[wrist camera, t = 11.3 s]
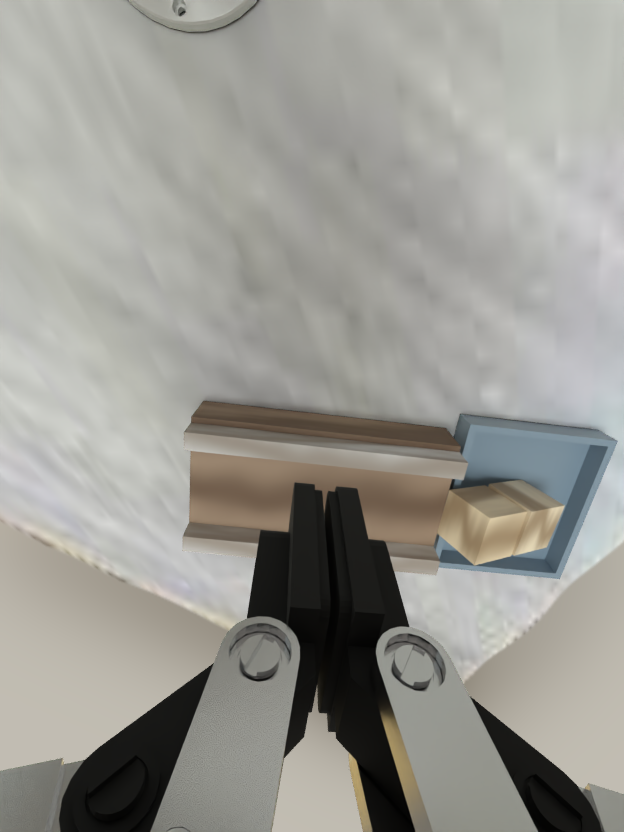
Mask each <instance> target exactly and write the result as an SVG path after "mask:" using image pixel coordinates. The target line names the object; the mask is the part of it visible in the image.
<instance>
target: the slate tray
mask: <svg viewBox="0 0 624 832" xmlns="http://www.w3.org/2000/svg"><path fill="white" fill-rule="evenodd" d="M454 439H455V440H456V441H457V442H458V444H459V445H460V446H461V448H460V453H461V455H462V456H463V457H464V458H465V460H466V461H467V462H468V466H467V470H466V473H465V477H464V480H459V479H452V481H451V485H450V488H449V490H452V489H460V488H467V487H475V486H482V485H486V486H487V487H488V486H489V484H492V483H499V482H507V481H515V480H523V481H525V482H526V483H528V484H530V485H531V486H533V487H535V488H536V489H538V490H540V491H541V492H543V493H545V494H546V495H548V496H550V497H551V498H553V499H555V500H556V501H558V502H560V503H561V504H563V505H565V507H564V509H563V511H562V514H561V516H560V518H559V521H558V523H557V525H556V527H555V530H554V532H553V534H552V536H551V539H550V541H549V543H548V546H547V547H546V548H542V549H538V550H534V551H531V552H527V553H523V554H519V555H515V556H514V555H511V556H510V557H506V558H502V559H498V560H494V561H490V562H486V563H482V564H478V565H473V564H472V563H471V562H470V561H469V560H468V559H466V558H465V557H464V556H463V555H462V554H461V553H460V552H458V551H457V550H456V549H455V548H454V547H453V546H451V545H450V544H449V543H448V542H447V541H446V540H444V539H443V538H442V537H441V536H440V535H439V534H437V535H436V539H435V543H434V548H435V551H436V553H437V555H438V557H439V560H440V564H439V567H440V568H451V569H461V570H471V571H482V572H492V573H503V574H513V575H524V576H534V577H545V578H555V579H560V577H561V574H562V572H563V570H564V567H565V565H566V563H567V560H568V558H569V555H570V553H571V551H572V548H573V546H574V544H575V541H576V539H577V537H578V534H579V532H580V529H581V527H582V525H583V522H584V520H585V518H586V515H587V513H588V510H589V508H590V506H591V503H592V501H593V499H594V496H595V494H596V491H597V489H598V487H599V484H600V482H601V480H602V477H603V475H604V472H605V470H606V468H607V465H608V463H609V461H610V458H611V456H612V453H613V451H614V449H615V446H616V444H617V442H618V441H617V440H615V439H613V438H611V437H610V436H608V435H606V434H604V433H603V432H601V431H599V430H594V429H585V428H577V427H568V426H559V425H550V424H542V423H533V422H524V421H516V420H507V419H498V418H489V417H481V416H472V415H463V414H460V417H459V421H458V425H457V428H456V432H455V436H454ZM448 493H449V492H448ZM447 496H448V495H447ZM446 500H447V499H446ZM444 507H445V506H444Z"/></svg>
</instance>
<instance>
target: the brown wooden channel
mask: <svg viewBox="0 0 624 832" xmlns="http://www.w3.org/2000/svg"><path fill="white" fill-rule="evenodd" d="M460 448H461V446H460V445H459V444H458V442H457V441H456V440H455V439H454V438H453V436H452V435H451V434H450V433H449V432H448V431H447V429H446V428H439V427H430V426H422V425H413V424H404V423H395V422H386V421H377V420H368V419H359V418H351V417H342V416H333V415H324V414H315V413H306V412H297V411H289V410H280V409H271V408H262V407H253V406H244V405H235V404H227V403H218V402H209V401H203V402H202V404H201V405H200V406H199V408H198V409H197V410H196V411H195V413H194V414H193V415H192V417H191V424H190V425H189V426H188V428H187V429H186V430H185V432H184V450H187V451H191V463H190V514H189V524H188V526H187V528H186V530H185V533H184V535H183V549H182V551H186V552H197V553H207V554H218V555H228V556H239V557H250V558H256V555H257V549H258V542H259V535H260V530H268V531H279V532H288V529H289V521H290V512H291V504H292V496H293V488H294V482H297V483H307V484H315V490H322V493H323V506H324V510H325V504H326V498H327V493H328V491H334V492H335V488H336V486H339V487H350V488H357V490H358V494H359V498H360V503H361V507H362V512H363V516H364V521H365V525H366V530H367V535H368V539H372V540H384V541H385V542H386V545H387V548H388V552H389V555H390V559H391V562H392V566H393V570H394V571H397V572H408V573H418V574H429V575H436V574H437V571H438V567H439V564H440V560H439V557H438V555H437V553H436V551H435V548H434V543H435V539H436V535H437V531H438V528H439V524H440V521H441V517H442V514H443V510H444V506H445V503H446V499H447V495H448V492H449V488H450V485H451V481H452V479H459V480H464V477H465V473H466V470H467V466H468V462H467V461H466V460H465V458H464V457H463V456H462V455H461V453H460Z"/></svg>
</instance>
